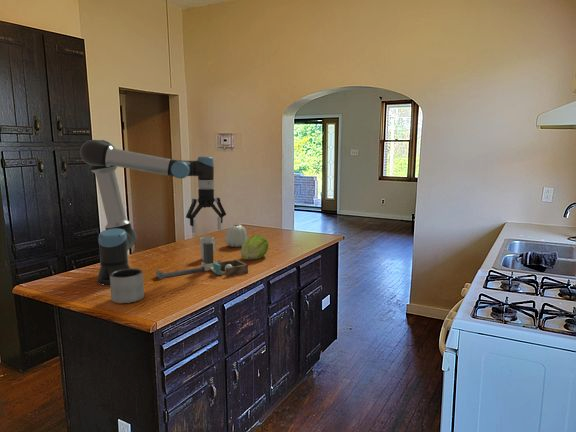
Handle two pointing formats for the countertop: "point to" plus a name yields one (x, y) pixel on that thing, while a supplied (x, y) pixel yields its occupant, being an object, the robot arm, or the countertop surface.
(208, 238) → the mug
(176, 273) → the rail
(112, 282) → the planter
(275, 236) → the countertop surface
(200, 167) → the robot arm
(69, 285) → the countertop surface
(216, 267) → the carriage
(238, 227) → the vase
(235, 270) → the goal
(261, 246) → the lettuce
